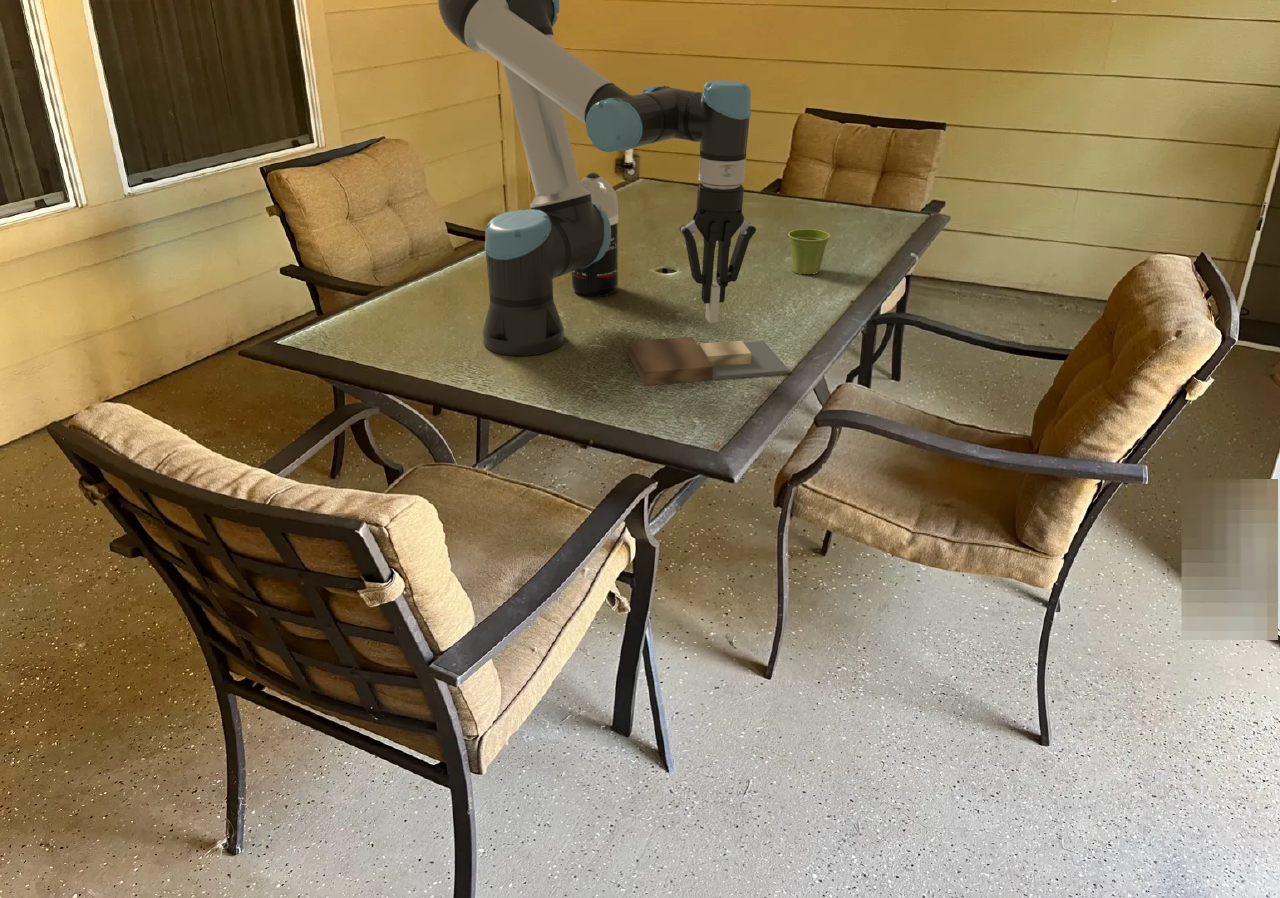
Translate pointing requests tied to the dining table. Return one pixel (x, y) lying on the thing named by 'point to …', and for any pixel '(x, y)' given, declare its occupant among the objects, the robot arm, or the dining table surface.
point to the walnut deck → (669, 361)
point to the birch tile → (726, 353)
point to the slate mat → (753, 364)
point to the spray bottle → (605, 271)
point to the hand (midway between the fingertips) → (711, 319)
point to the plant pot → (807, 249)
